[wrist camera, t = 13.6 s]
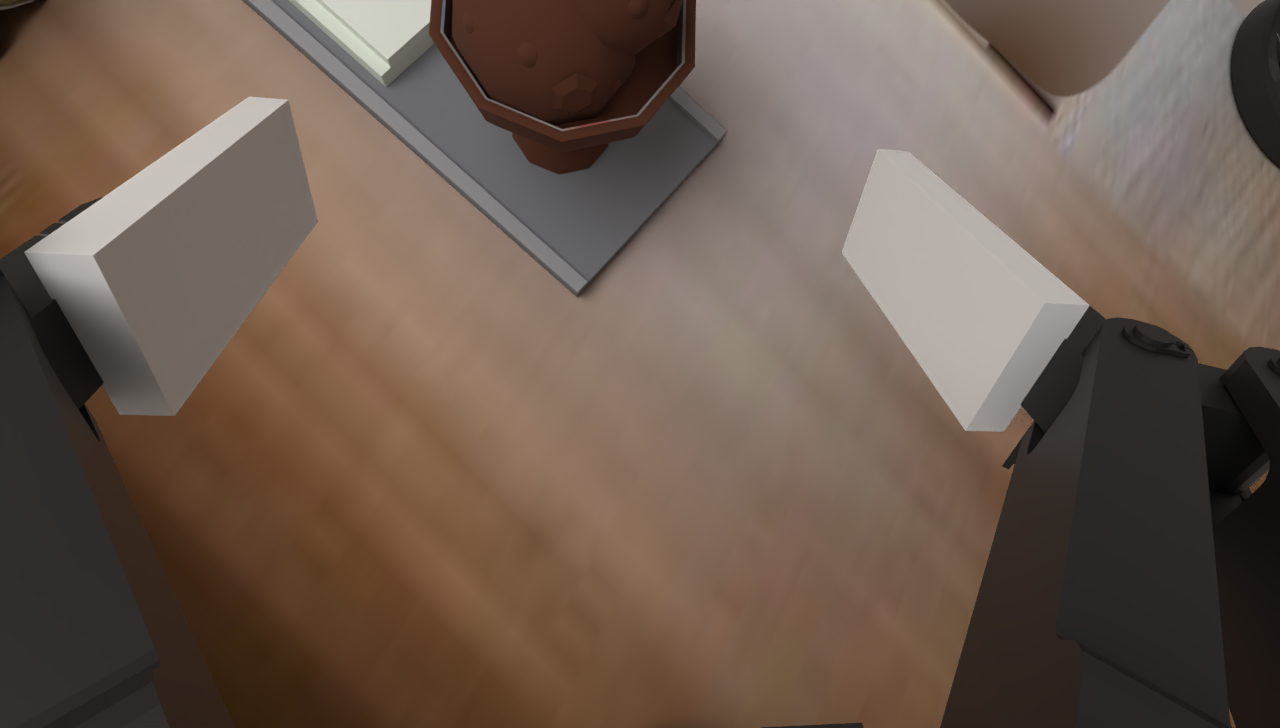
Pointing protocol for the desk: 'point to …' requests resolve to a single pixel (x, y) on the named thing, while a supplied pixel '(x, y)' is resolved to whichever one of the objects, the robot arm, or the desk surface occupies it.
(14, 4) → the lamp shade
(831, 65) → the desk surface
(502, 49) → the ice cream bowl
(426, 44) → the pale green flat block
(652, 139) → the tray
